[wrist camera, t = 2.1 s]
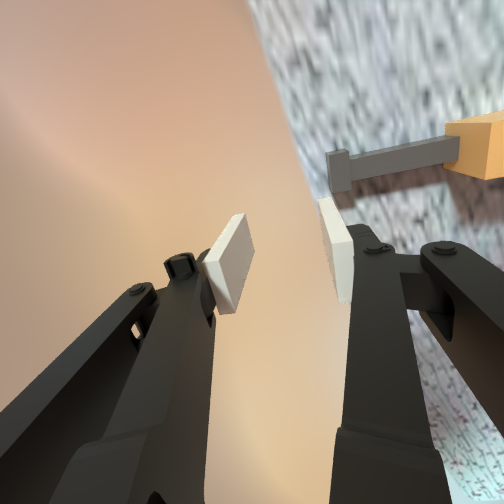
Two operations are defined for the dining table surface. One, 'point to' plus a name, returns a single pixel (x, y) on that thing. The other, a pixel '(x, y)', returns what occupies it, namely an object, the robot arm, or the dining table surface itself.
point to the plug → (429, 154)
